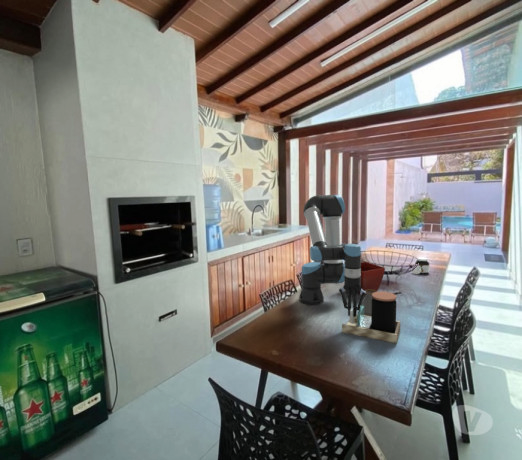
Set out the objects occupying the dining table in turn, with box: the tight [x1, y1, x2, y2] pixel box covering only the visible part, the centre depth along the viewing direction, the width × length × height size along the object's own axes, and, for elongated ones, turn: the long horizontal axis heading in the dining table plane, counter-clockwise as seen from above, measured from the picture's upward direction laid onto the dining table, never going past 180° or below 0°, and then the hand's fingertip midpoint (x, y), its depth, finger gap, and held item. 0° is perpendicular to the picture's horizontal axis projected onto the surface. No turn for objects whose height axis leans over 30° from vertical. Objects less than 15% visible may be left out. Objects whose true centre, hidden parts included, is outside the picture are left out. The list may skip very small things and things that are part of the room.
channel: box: [341, 314, 401, 344], centre depth 144 cm, size 24×15×4 cm, turn 60°
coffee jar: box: [371, 291, 397, 334], centre depth 140 cm, size 11×11×18 cm
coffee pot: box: [361, 290, 403, 316], centre depth 159 cm, size 21×12×15 cm, turn 55°
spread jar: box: [411, 257, 430, 275], centre depth 234 cm, size 12×11×12 cm
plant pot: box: [358, 261, 386, 295], centre depth 199 cm, size 19×19×17 cm
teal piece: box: [356, 306, 371, 329], centre depth 145 cm, size 6×13×9 cm, turn 150°
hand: (352, 322), depth 148 cm, fingers closed
